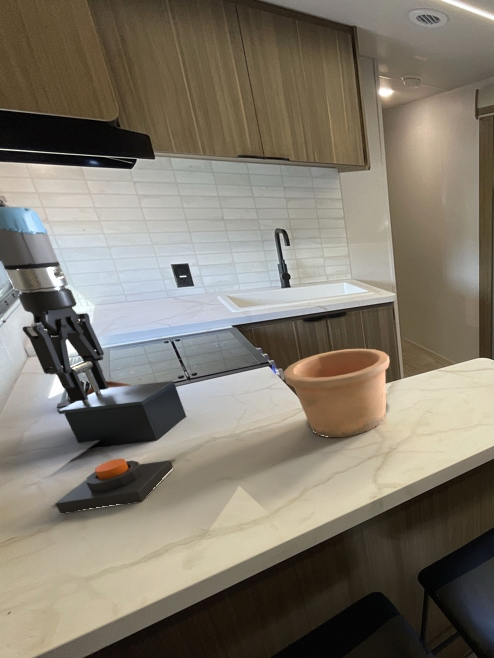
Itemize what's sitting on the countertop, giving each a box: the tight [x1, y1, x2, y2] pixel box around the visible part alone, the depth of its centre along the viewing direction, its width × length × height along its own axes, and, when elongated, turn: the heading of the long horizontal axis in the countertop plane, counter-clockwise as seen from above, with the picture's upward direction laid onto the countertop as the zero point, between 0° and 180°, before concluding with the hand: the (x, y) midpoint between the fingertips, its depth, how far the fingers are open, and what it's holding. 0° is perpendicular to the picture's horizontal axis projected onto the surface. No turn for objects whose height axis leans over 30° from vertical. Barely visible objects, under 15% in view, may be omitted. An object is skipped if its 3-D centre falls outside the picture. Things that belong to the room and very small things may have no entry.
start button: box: [94, 458, 129, 480], centre depth 70 cm, size 4×4×2 cm
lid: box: [57, 360, 175, 415], centre depth 89 cm, size 15×13×9 cm
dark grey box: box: [63, 383, 187, 450], centre depth 92 cm, size 15×13×9 cm
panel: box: [54, 460, 174, 514], centre depth 71 cm, size 12×10×4 cm
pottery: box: [283, 348, 390, 438], centre depth 91 cm, size 22×22×14 cm
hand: (90, 394), depth 89 cm, fingers open, 6 cm apart
